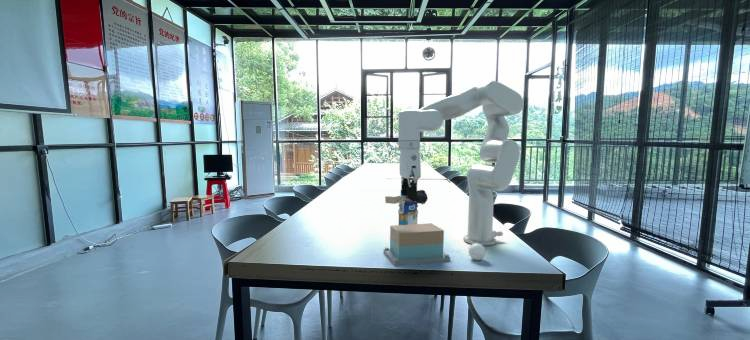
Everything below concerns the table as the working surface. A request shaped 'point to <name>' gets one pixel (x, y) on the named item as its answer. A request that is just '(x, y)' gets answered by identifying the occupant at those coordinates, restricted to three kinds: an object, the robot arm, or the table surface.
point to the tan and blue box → (416, 244)
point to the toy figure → (420, 198)
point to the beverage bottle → (407, 213)
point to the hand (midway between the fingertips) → (408, 196)
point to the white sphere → (477, 251)
